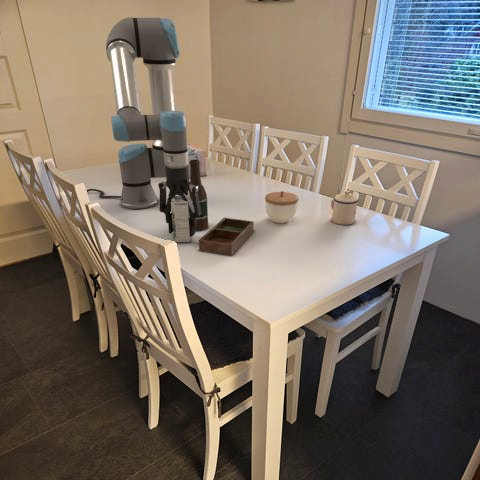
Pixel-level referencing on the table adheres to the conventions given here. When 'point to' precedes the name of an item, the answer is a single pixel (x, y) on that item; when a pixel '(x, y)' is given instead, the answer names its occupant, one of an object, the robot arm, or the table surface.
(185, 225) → the syrup box
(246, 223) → the tray
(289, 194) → the lidded bowl
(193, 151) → the soda box
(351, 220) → the teacup with lid
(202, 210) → the beer bottle
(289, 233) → the table surface
